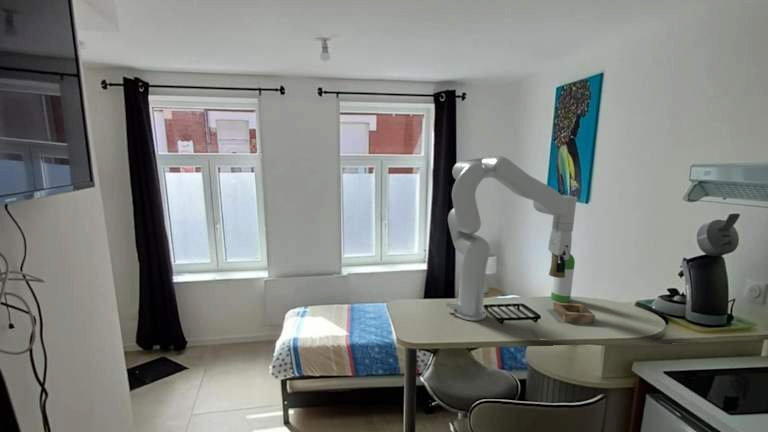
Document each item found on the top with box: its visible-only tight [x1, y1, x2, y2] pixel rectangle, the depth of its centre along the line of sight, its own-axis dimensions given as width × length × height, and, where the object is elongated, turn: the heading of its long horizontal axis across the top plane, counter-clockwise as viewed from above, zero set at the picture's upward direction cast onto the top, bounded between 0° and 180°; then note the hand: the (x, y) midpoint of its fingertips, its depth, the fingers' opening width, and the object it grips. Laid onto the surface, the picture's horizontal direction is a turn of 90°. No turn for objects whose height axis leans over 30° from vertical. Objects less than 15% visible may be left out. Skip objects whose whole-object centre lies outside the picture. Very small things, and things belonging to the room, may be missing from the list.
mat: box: [545, 308, 597, 327], centre depth 144 cm, size 14×13×1 cm
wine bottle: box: [550, 253, 575, 303], centre depth 160 cm, size 8×8×30 cm
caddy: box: [552, 302, 596, 324], centre depth 143 cm, size 11×11×4 cm
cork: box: [548, 252, 565, 278], centre depth 147 cm, size 6×6×11 cm
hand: (557, 270), depth 148 cm, fingers closed on cork, 4 cm apart
